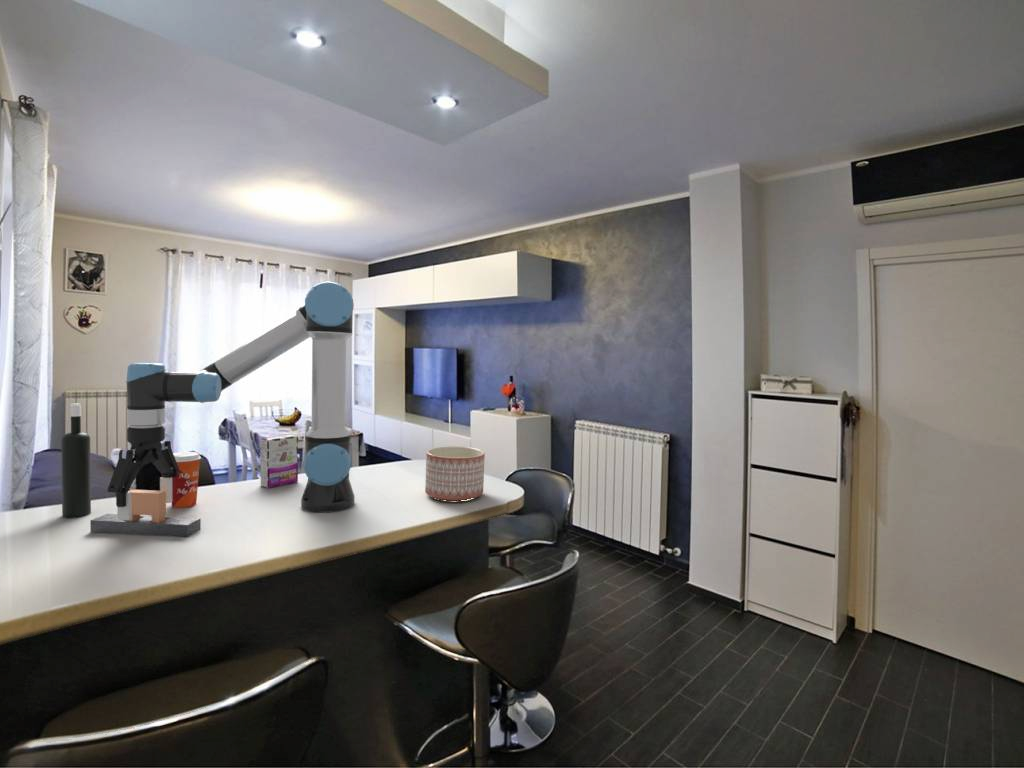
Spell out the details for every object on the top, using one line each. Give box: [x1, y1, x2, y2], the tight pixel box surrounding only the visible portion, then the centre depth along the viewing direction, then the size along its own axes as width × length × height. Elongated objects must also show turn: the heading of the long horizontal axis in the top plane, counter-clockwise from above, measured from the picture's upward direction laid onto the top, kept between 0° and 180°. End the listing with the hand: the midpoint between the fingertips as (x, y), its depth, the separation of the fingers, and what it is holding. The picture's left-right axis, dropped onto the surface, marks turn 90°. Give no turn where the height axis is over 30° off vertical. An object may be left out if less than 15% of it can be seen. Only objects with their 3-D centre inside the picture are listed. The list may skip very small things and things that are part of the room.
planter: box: [424, 445, 486, 501], centre depth 164 cm, size 19×19×15 cm
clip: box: [125, 489, 167, 523], centre depth 123 cm, size 8×2×10 cm, turn 89°
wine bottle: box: [60, 402, 92, 519], centre depth 132 cm, size 6×6×30 cm
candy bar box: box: [259, 434, 299, 489], centre depth 170 cm, size 11×5×16 cm, turn 147°
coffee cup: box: [170, 451, 202, 509], centre depth 144 cm, size 8×8×15 cm
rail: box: [90, 513, 202, 538], centre depth 123 cm, size 24×5×3 cm, turn 89°
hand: (146, 510), depth 123 cm, fingers open, 13 cm apart
